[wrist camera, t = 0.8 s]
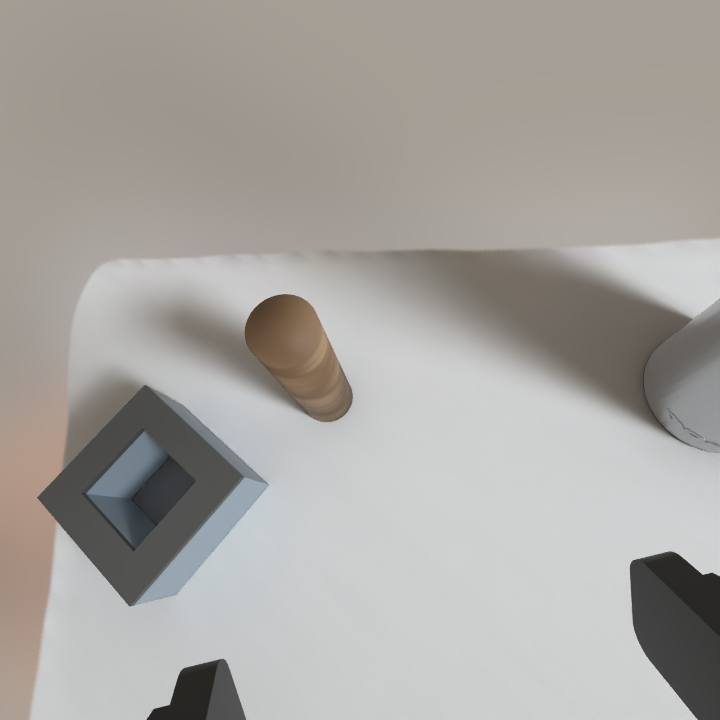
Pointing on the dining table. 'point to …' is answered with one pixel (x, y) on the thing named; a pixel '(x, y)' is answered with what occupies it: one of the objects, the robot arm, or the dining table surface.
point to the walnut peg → (299, 355)
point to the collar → (129, 474)
